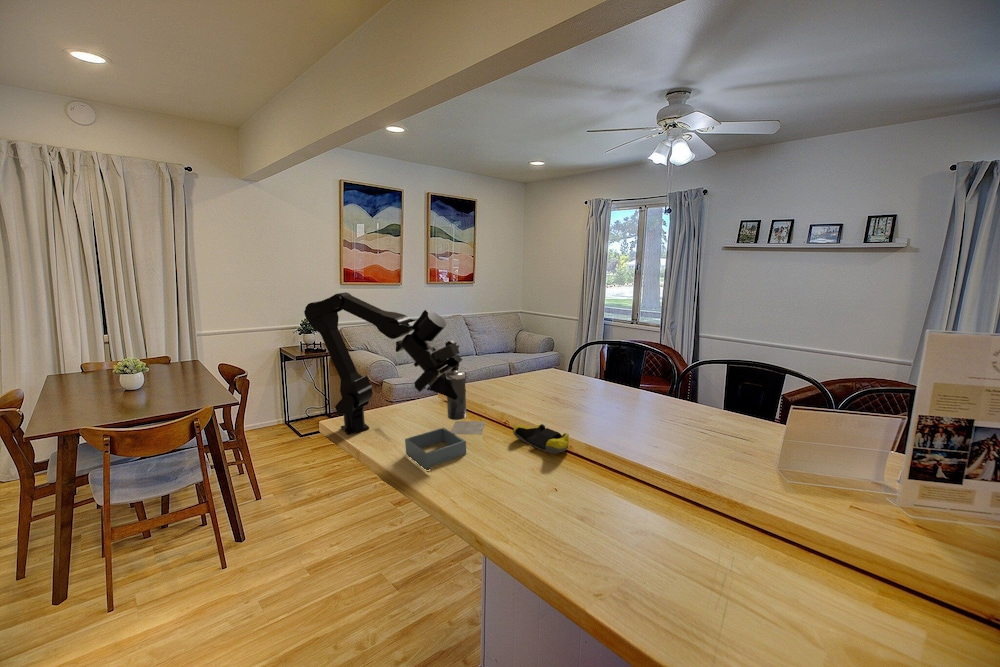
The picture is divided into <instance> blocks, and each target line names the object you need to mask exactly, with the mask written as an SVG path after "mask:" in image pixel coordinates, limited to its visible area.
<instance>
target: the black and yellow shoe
mask: <svg viewBox="0 0 1000 667" xmlns="http://www.w3.org/2000/svg"><path fill="white" fill-rule="evenodd" d="M512 433H513V436H515V437H516V438H517V439H518V440H520V441H521V442H523V443H525V444H527V445H530V446H531V447H532V448H533V449H534V448H535V449H538V450H541V451H543V452H544V453H549V454H551V455H556V454H559V453H564V451H567V449H569V436H570V434H569V433H568V432H567V433H563V434H562V435H561V433H560V432H558V431H556V430H554V429H550V428H548V427H546V424H543V423H542V424H538V425H537V426H535V427H533V428H532V427H529V426H524V425H522V424H521V425H515V426H514V427H513V430H512Z"/></svg>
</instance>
